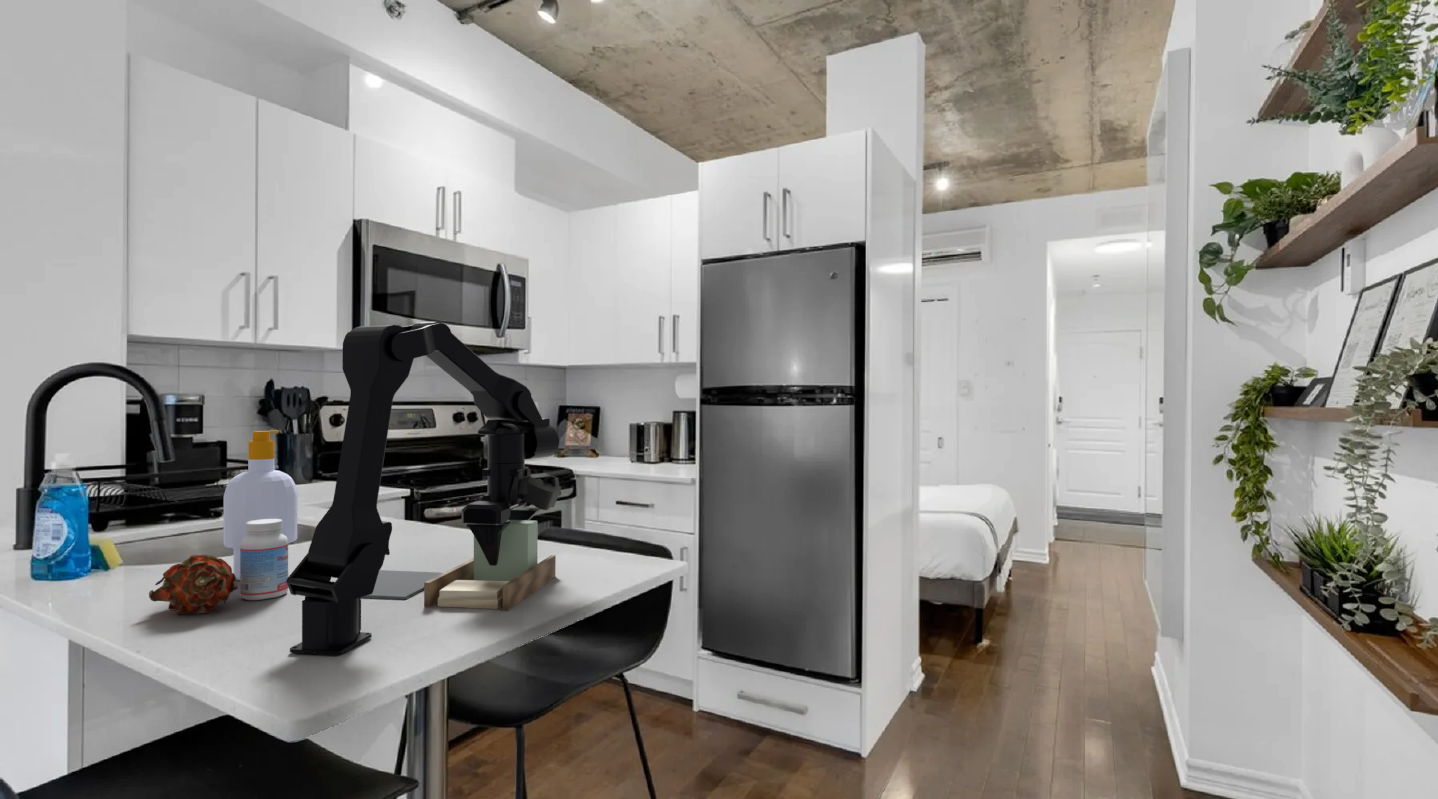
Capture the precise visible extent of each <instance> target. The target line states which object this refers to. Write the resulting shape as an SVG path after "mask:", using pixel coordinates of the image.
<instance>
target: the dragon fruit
mask: <svg viewBox="0 0 1438 799" xmlns="http://www.w3.org/2000/svg"><path fill="white" fill-rule="evenodd" d="M232 568H233V567H232V566H231V565H229V563H227V561H226V560H224V559H223V558H218V557H217V556H215V555H214V554H201V555H200V554H192V555H190V556H189V557H188V558H187V559H184V560H183V561H182V562H180V563H176V564H174V565H172V566H170V567H169V568H168V569H167V570H166V571H164V572H163V573H162V576H163V577H162V578H160V580H158V581H157V582H156V583H155V584H154V586H158V585H160V584H161V583H162V582H163V583H162V586H160V587H158V588H157V589H155V590H153V589H151V590H150V591H149V592H148V598H149V600H150V601H151V602H165V603H168V602H169V604H168V610H169V611H170V612H172V613H173V614H176V615H182V614H187V613H193V614H208V613H210V612H212V611H213V610H214V609H215V607H216V606H220V605H222V604H225V603H226V602H227V600H229V597H230V594H231V593H233V592H234V591H236V590H238V589H239V586H238V582H237V579H236V577H235V574H234V573H233V569H232Z"/></svg>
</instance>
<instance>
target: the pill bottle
mask: <svg viewBox="0 0 1438 799" xmlns="http://www.w3.org/2000/svg"><path fill="white" fill-rule="evenodd" d="M282 528H283V522H282V520H281V519H261V520H254V521H249V522H247V523H246V531H247V533H248V537H246V538H245V539H243V541H242V542H241V545H240V580H239V582H240V584H239V586H240V587H239V595H240V598H241V599H242V600H244V601H245V600H246V601H263V600H267V599H274V598H279V597H281V596H284V595H285V594H287V593H288V591H289V588H288V585H287V582H286V580H287V578H288V577H289V543H288V539H287V537H286V536H285V535H283V534H281V530H282Z"/></svg>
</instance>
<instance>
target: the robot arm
mask: <svg viewBox="0 0 1438 799" xmlns="http://www.w3.org/2000/svg"><path fill="white" fill-rule="evenodd" d="M424 356H426V357H427V358H428V359H429V360H431V361H432V362H433V363H434V364H435V365H437V366H438V367H439V368H440V369H441V370H443V371H444V372H445V373H446V374H448V376H450V377H452V379H454V380H455V381H457V383H459V384H460V385H461V386H462V387H464V388H465V389H466V390H467V391H468V392H470V394H471V395H472V398H473V403H474V405H475V406H476V408H477V409H479V411H480V412H481V414H482V415H483V416H484V417H485V418H487V421H486V422H485V423H484V425H482V426H481V427H480V428H479V429H478V430H477V434H478V435H481V436H483V435H484V436H487V468H483V469H482V476H483V477H487V493H486V494H482V500H476V501H474V502H471V503H467V504H466V505H465V506H464V507H463V508H462V509H461V523H462V524H465V525H466V528H469V530H470V531H471V533H472V534H473V537H474V536H475V538H476V540H477V541H478V543H479V545H480V547H481V549H482V551H483V553H484V555H485V557H486V559H487V561H488V563H489V565H491V566H496V565H497V562H498V557H499V550H500V542H501V534H502V531H503V530H504V529H505V528H506V527H507V526H508V525H509V524H510V522H506V521H508V520H531V519H532V518H534V516H535V515H537V514H538V513H539V512H540V511H541V510H543V511H549V509H551V508H554V507H555V506H556V503H557V500H558V497H560V496H561V495H562V491H561V490H562V487H561V486H560V479H559V477H556V476H555V475H551V474H550V475H547V476H545V478H544V479H543V480H542V478H535V477H532V476H531V474H532V472H531V469H530V467H529V466H526V463H525V460H534V459H540V458H541V459H542V458H549V457H553V455H554V454H555V453H556V452H557V451H558V449H559V446H560V437H559V433H557V430H556V429H555V428H554V427H553V426H552V425H551V421H550V418H546V417H545V418H542V415H541V413H540V411H539V410H538V407H537V405H536V402H535V401H534V399H533V396H532V393H531V391H530V389H529V388H528V387H527V386H526V385H524V384H523V383H521V382H519V381H518V380H516V379H514V378H512V377H509V376H506V375H502V374H501V373H498V372H497V371H496V370H494V369H493V368H492V367H490V366H489V365H488V364H487V363H486V362H485V361H484V360H483V359H481V357H479V356H478V355H477V354H476V353H475V352H474V351H472V350H471V349H470V348H469V347H468V346H467V345H466V344H465V343H464V342H463V341H462V340H460V339H459V338H458V337H457V336H456V335H455V334H453V332H452V330H451V328H450V327H449V326H448V325H447V324H445V323H444V322H441V321H424V322H423V321H421V322H415V323H414V324H410V325H405V326H401V325H398V324H397V325H396V324H386V325H385V324H382V325H363V326H357V327H354V328H353V329H351V330H350V331H348V332H346V334H345V336H344V339H343V342H342V367H341V368H342V372H343V374H344V377H345V378H346V381H347V384H348V387H349V389H350V393H349V394H350V396H349V401H348V408H347V413H346V414H347V415H346V420H345V426H344V432H343V439H342V444H341V449H340V451H341V452H340V455H339V456H340V459H339V464H338V470H337V476H336V482H335V487H334V493H333V494H334V495H333V498H332V499H333V501H332V504H331V506H330V507H329V509H328V510H327V511H326V513H325V514H324V516H322V518H321V519H320V521H318V524H317V525H316V527H315V529H314V532H313V536H312V539H311V540H310V541H311V542H310V545H309V548H308V552H307V553H306V555H305V556H304V557H303V558H302V560H301V561H300V562H299V563H298V565H296V567H295V568H294V570H293V571H292V572H291V574H290V575H288V578H287V580H286V582H287V585H288V591H289V593H290V595H292V596H301V597H304V600H302V601H301V642H299V643H297V644H295V645H293V646H291V647H289V653H293V654H311V655H332V656H338V655H340V656H341V655H342V654H345V653H346V652H347V651H350V650H351V649H353V648H354V647H357V646H358V645H360V644H362V643H364V642H366V641H368V640H369V639H371V638H372V636H373V634H372V632H364V631H363V632H362V599H361V597H363V596H366V595H370V594H372V593H373V590H374V587H375V584H376V580H377V577H378V573H379V570H382V567H383V565H384V562H385V559H386V558H385V557H386V556H390V555H391V554H390V553H391V552H390V546H389V545H390V538H391V535H392V531H393V524H392V521H384V520H382V518H381V516H380V514H379V510H378V499H379V493H380V486H381V479H382V474H383V466H384V461H385V460H384V459H385V454H386V453H385V452H386V446H387V441H388V433H389V428H390V422H391V414H392V407H393V402H394V397H395V395H396V394H397V392H398V391H399V389H400V388H401V387H402V386H403V385H404V383H405V381H406V380H407V379H408V377H409V375H410V372H411V370H412V366H413V363H414V361H415V360H414V359H417V358H420V357H424ZM332 578H333V579H336V580H335V581H331V579H332Z"/></svg>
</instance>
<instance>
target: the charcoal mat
mask: <svg viewBox="0 0 1438 799" xmlns="http://www.w3.org/2000/svg"><path fill="white" fill-rule="evenodd" d="M443 573H444V572H438V571H437V572H436V571H434V572H433V571H432V572H431V571H411V570H387V569H386V570H385V569H384V570H383V569H380V570H379V573H378V577H377V580H376V584H375V587H374V590H373V593H372V594H370V595H366V596H363V597H360V599H361V598H363V599H365V598H366V599H387V600H406V599H407V600H408V599H409V598H411V597H413V596H415V595H417V594H419V593H421V592H422V591H424V582H426V581H428V580H430V579H432V578H434V577H436V576H438V575H440V574H443Z"/></svg>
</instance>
